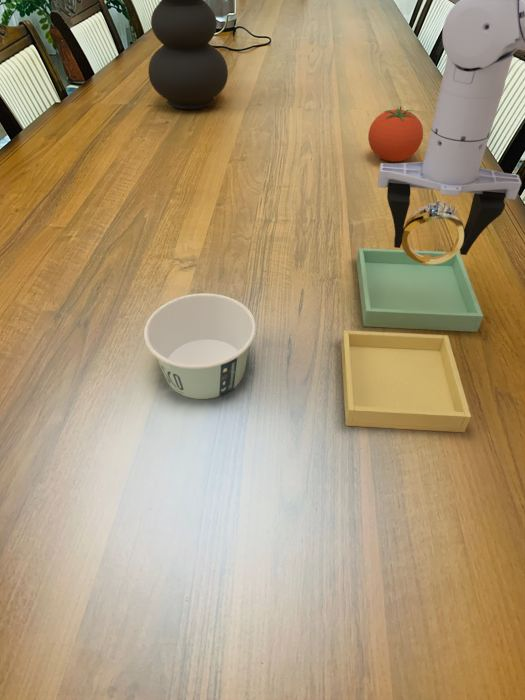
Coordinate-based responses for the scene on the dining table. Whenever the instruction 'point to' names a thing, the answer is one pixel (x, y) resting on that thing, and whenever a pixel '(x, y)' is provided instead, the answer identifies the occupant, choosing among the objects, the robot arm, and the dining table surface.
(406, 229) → the ring
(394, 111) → the tomato
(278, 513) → the dining table surface
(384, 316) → the green tray
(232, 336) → the food container
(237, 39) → the dining table surface
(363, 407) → the yellow tray
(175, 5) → the vase
